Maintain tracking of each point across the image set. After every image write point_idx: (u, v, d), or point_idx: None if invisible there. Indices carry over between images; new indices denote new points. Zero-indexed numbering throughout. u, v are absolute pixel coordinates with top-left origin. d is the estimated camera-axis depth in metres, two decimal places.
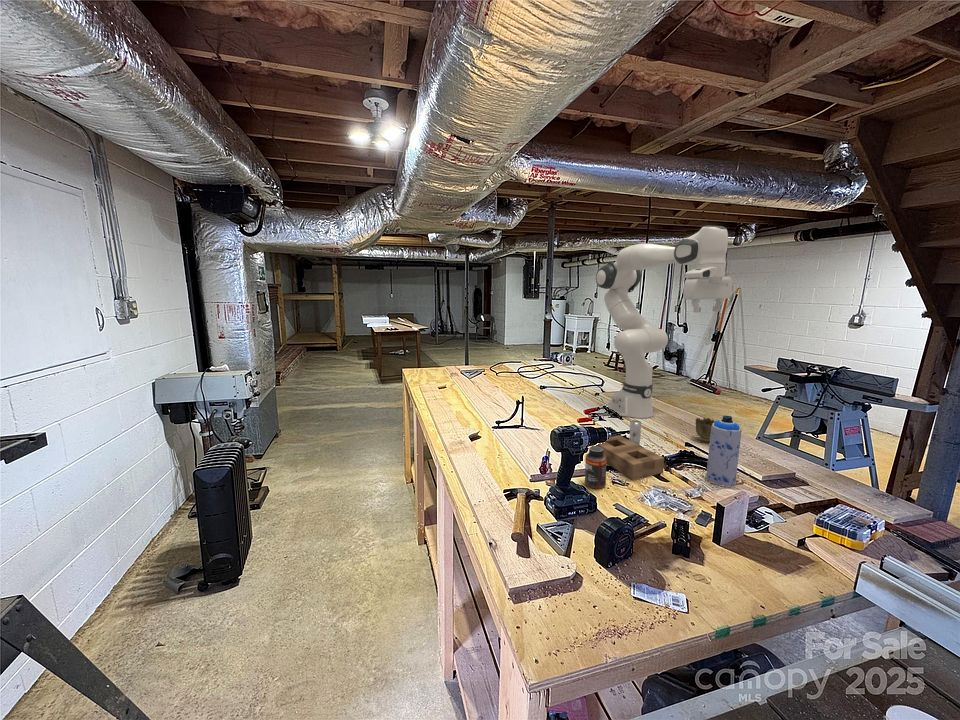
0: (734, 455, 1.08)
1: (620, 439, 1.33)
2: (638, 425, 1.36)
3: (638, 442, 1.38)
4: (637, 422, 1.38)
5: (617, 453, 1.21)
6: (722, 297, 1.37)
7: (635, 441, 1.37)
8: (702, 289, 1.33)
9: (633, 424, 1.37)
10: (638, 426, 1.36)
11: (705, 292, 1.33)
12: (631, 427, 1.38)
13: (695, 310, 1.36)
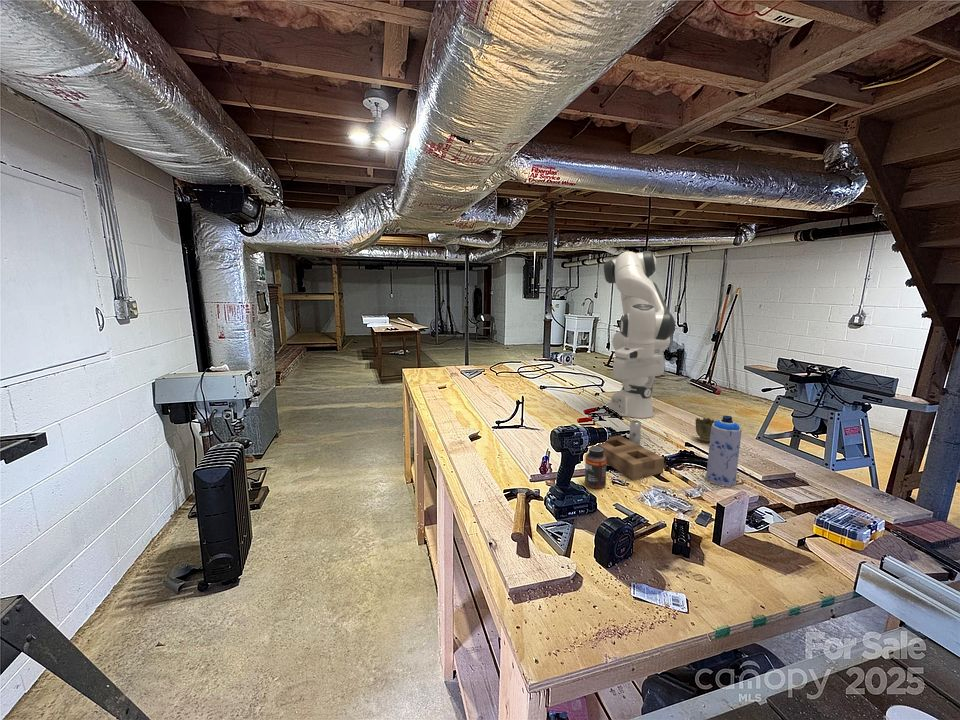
0: (734, 455, 1.08)
1: (620, 439, 1.33)
2: (638, 425, 1.36)
3: (638, 442, 1.38)
4: (637, 422, 1.38)
5: (617, 453, 1.21)
6: (653, 375, 1.35)
7: (635, 441, 1.37)
8: (631, 369, 1.31)
9: (633, 424, 1.37)
10: (638, 426, 1.36)
11: (635, 372, 1.32)
12: (631, 427, 1.38)
13: (625, 388, 1.34)
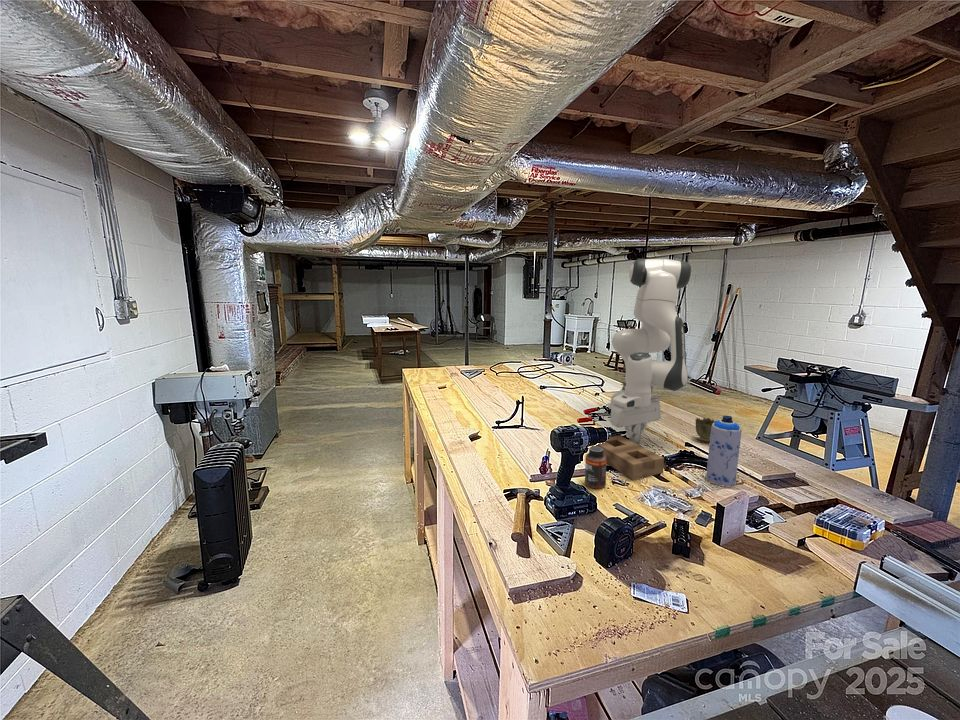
0: (734, 455, 1.08)
1: (620, 439, 1.33)
2: (638, 425, 1.36)
3: (638, 442, 1.38)
4: None
5: (617, 453, 1.21)
6: (650, 421, 1.38)
7: (635, 441, 1.37)
8: (628, 417, 1.34)
9: None
10: (638, 426, 1.36)
11: (632, 419, 1.35)
12: (631, 427, 1.38)
13: (627, 434, 1.38)
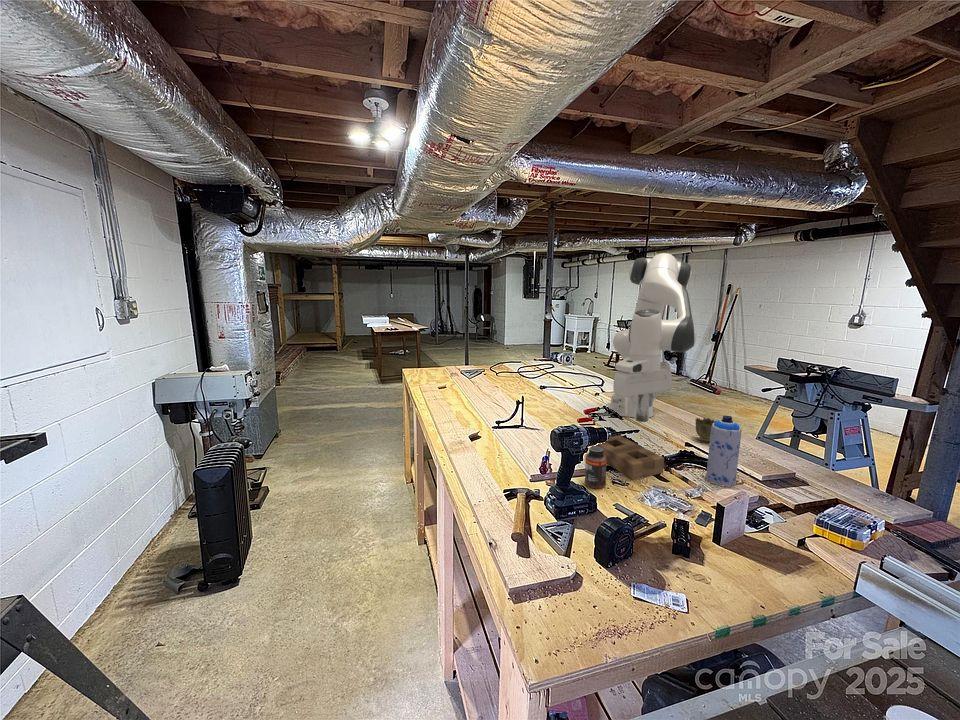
0: (734, 455, 1.08)
1: (620, 439, 1.33)
2: (646, 395, 1.16)
3: (646, 416, 1.17)
4: None
5: (617, 453, 1.21)
6: (660, 390, 1.17)
7: (643, 414, 1.17)
8: (634, 384, 1.13)
9: None
10: (646, 396, 1.16)
11: (639, 388, 1.14)
12: (638, 398, 1.17)
13: (634, 406, 1.17)
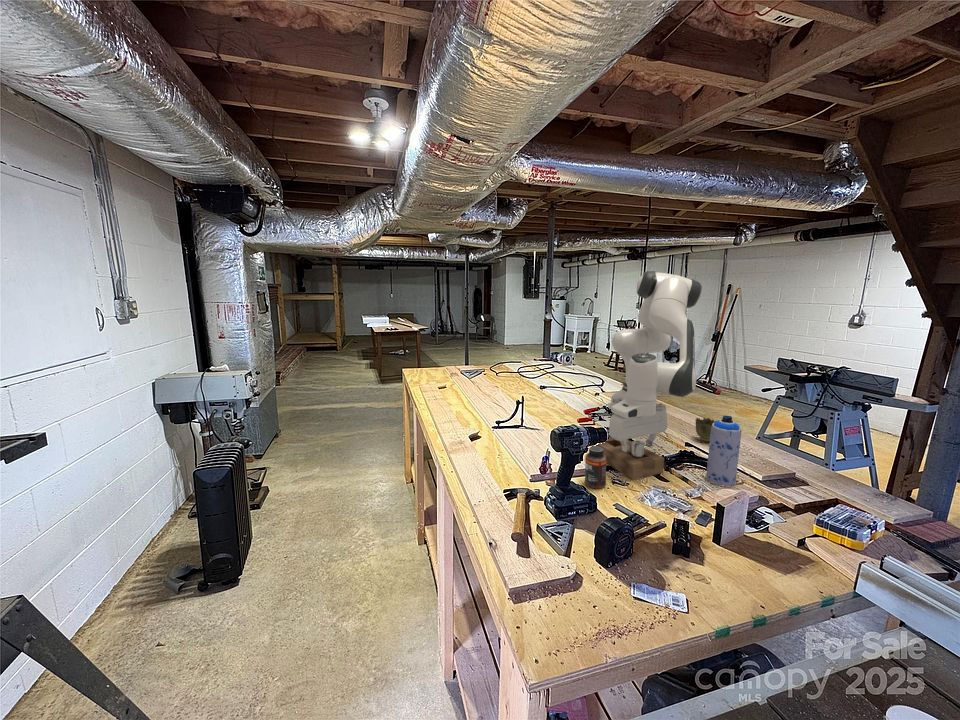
0: (734, 455, 1.08)
1: None
2: (641, 447, 1.18)
3: None
4: (639, 443, 1.19)
5: (617, 453, 1.21)
6: (655, 432, 1.19)
7: None
8: (629, 428, 1.15)
9: (635, 445, 1.19)
10: (641, 448, 1.18)
11: (634, 431, 1.16)
12: (633, 449, 1.19)
13: (623, 449, 1.18)
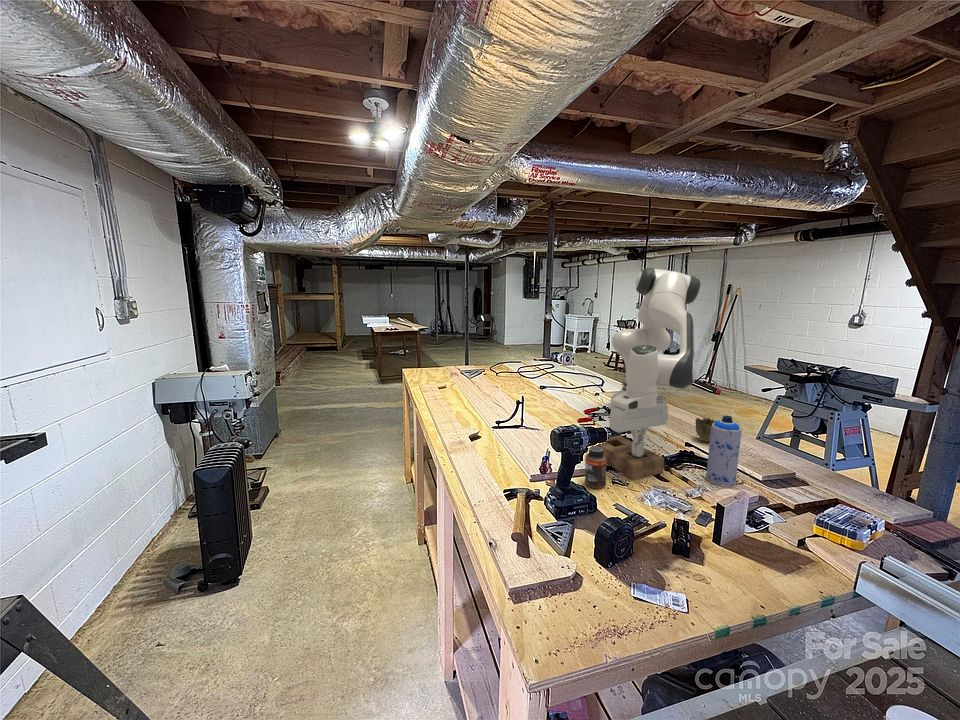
0: (734, 455, 1.08)
1: (620, 439, 1.33)
2: (641, 447, 1.18)
3: None
4: (639, 443, 1.19)
5: (617, 453, 1.21)
6: (656, 425, 1.19)
7: None
8: (630, 420, 1.15)
9: (635, 445, 1.19)
10: (641, 448, 1.18)
11: (634, 423, 1.15)
12: (633, 449, 1.19)
13: (634, 439, 1.19)
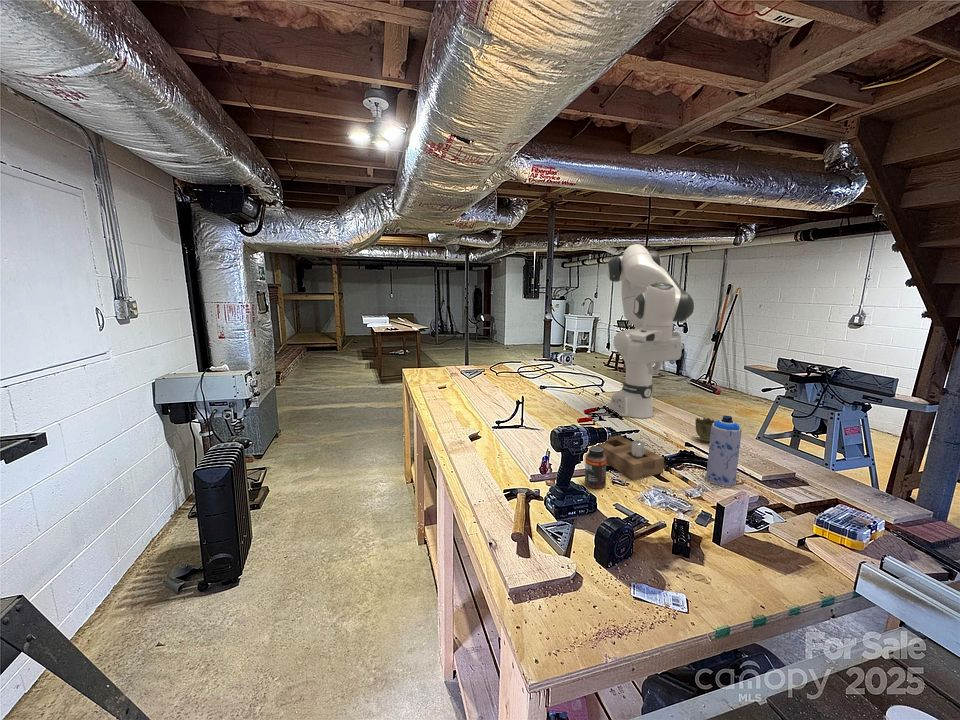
0: (734, 455, 1.08)
1: (620, 439, 1.33)
2: (641, 447, 1.18)
3: None
4: (639, 443, 1.19)
5: (617, 453, 1.21)
6: (670, 359, 1.27)
7: None
8: (646, 353, 1.22)
9: (635, 445, 1.19)
10: (641, 448, 1.18)
11: (650, 356, 1.23)
12: (633, 449, 1.19)
13: (649, 372, 1.27)
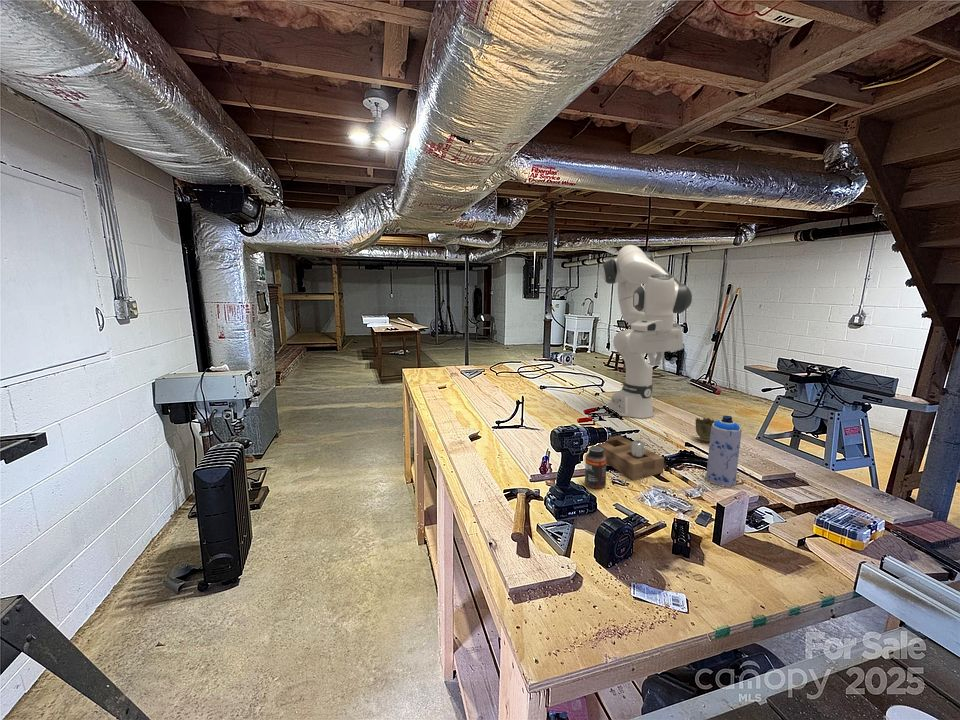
0: (734, 455, 1.08)
1: (620, 439, 1.33)
2: (641, 447, 1.18)
3: None
4: (639, 443, 1.19)
5: (617, 453, 1.21)
6: (671, 349, 1.28)
7: None
8: (648, 343, 1.24)
9: (635, 445, 1.19)
10: (641, 448, 1.18)
11: (652, 346, 1.25)
12: (633, 449, 1.19)
13: (651, 363, 1.28)
